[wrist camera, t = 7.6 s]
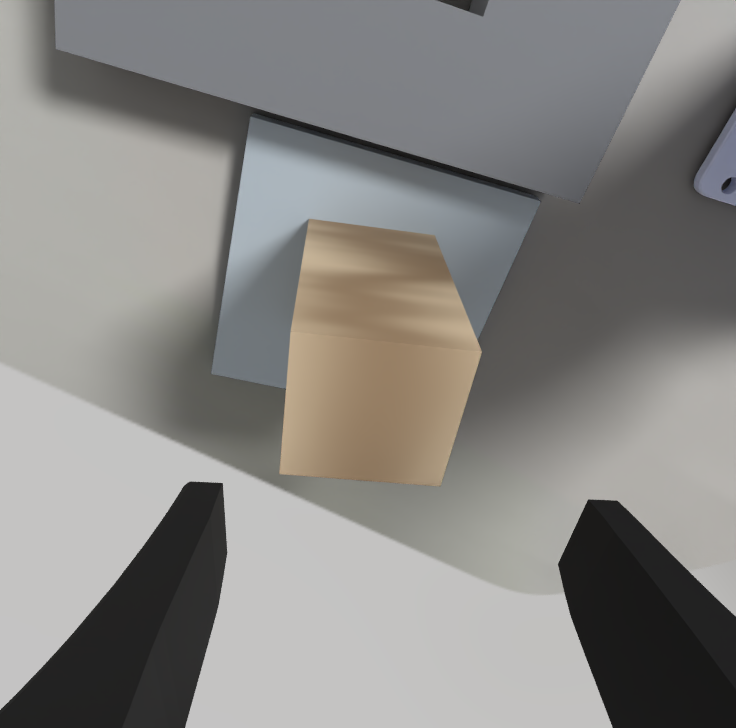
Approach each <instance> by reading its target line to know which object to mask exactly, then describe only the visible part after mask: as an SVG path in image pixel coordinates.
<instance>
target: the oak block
mask: <svg viewBox="0 0 736 728" xmlns="http://www.w3.org/2000/svg"><path fill="white" fill-rule="evenodd" d="M481 353H482V351H481V348H480V346H479V343H478V341H477V338H476V336H475V333H474V331H473V329H472V326H471V324H470V321H469V319H468V316H467V314H466V311H465V309H464V306H463V304H462V301H461V299H460V296H459V294H458V291H457V289H456V286H455V284H454V282H453V279H452V277H451V274H450V272H449V269H448V267H447V264H446V262H445V259H444V257H443V254H442V252H441V249H440V247H439V244H438V242H437V239H436V237H435V235H430V234H423V233H415V232H407V231H400V230H392V229H384V228H377V227H369V226H361V225H354V224H346V223H338V222H331V221H323V220H315V219H309V222H308V228H307V234H306V240H305V246H304V252H303V259H302V265H301V271H300V277H299V283H298V289H297V295H296V301H295V308H294V314H293V320H292V326H291V333H290V345H289V358H288V371H287V384H286V396H285V409H284V422H283V434H282V447H281V460H280V472H279V474H286V475H299V476H312V477H325V478H338V479H351V480H364V481H377V482H390V483H402V484H415V485H428V486H441V483H442V480H443V476H444V473H445V470H446V467H447V464H448V460H449V457H450V454H451V451H452V447H453V444H454V441H455V438H456V434H457V431H458V428H459V425H460V421H461V418H462V415H463V412H464V408H465V405H466V402H467V399H468V396H469V392H470V389H471V386H472V383H473V379H474V376H475V373H476V370H477V366H478V363H479V360H480V357H481Z"/></svg>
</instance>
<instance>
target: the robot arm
mask: <svg viewBox="0 0 736 728" xmlns="http://www.w3.org/2000/svg"><path fill="white" fill-rule="evenodd" d="M730 177H731V183H730V185H729V186H728V187H727V188H726V189H724V190H721V187H722V184H723V183H724V182H725V181H726V179H728V178H730ZM694 188H695V190H696V191H697V192H698V193H700V194H702V195H704V196H706V197H709V198H712V199H715V200H718V201H721V202H725V203H728V204H731V205H734V206H736V109H735V110H734V112H733V114H732V115H731V117H730V119H729V120H728V122H727V124H726V125H725V127H724V129H723V130H722V132H721V134H720V135H719V137H718V139H717V141H716V142H715V144H714V146H713V147H712V149H711V151H710V152H709V154H708V156H707V157H706V159H705V161H704V162H703V164H702V166H701V167H700V169H699V171H698V172H697V174H696V177H695V179H694ZM226 557H227V543H226V527H225V512H224V497H223V483H208V482H189V483H187V484H186V485H185V486H184V487H183V488H182V490H181V492H180V493H179V495H178V497H177V498H176V500H175V501H174V503H173V504H172V506H171V507H170V509H169V511H168V512H167V513H166V515H165V517H164V518H163V519H162V521H161V522H160V524H159V525H158V527H157V528H156V529H155V531H154V532H153V534H152V535H151V536H150V538H149V539H148V540H147V542H146V543H145V545H144V546H143V548H142V549H141V550H140V551H139V553H138V554H137V555H136V557H135V558H134V559H133V560H132V562H131V563H130V564H129V566H128V567H127V568H126V570H125V571H124V572H123V574H122V575H121V576H120V578H119V579H118V580H117V581H116V583H115V584H114V585H113V587H112V588H111V589H110V590H109V591H108V592H107V594H106V595H105V596H104V597H103V598H102V600H101V601H100V602H99V603H98V604H97V606H96V607H95V608H94V609H93V610H92V611H91V613H90V614H89V615H88V616H87V617H86V619H85V620H84V621H83V622H82V623H81V625H80V626H79V627H78V628H77V629H76V630H75V632H74V633H73V634H72V635H71V636H70V637H69V639H68V640H67V641H66V642H65V643H64V644H63V645H62V646H61V647H60V649H59V650H58V651H57V652H56V653H55V654H54V655H53V656H52V657H51V658H50V659H49V661H48V662H47V663H46V664H45V665H44V666H43V667H42V668H41V669H40V670H39V671H38V672H37V673H36V675H34V676H33V677H32V678H31V679H30V681H29V682H28V683H27V684H26V685H25V686H24V687H23V688H22V689H21V690H20V691H19V692H18V693H17V694H16V695H15V696H14V697H13V698H12V699H11V700H10V701H9V702H8V703H7V704H6V705H5V706H4V707H3V708H2V709H1V710H0V728H185V725H186V721H187V718H188V714H189V711H190V707H191V704H192V700H193V696H194V693H195V689H196V686H197V682H198V678H199V675H200V671H201V667H202V664H203V660H204V657H205V653H206V649H207V646H208V642H209V638H210V635H211V631H212V627H213V623H214V620H215V616H216V613H217V608H218V605H219V599H220V593H221V587H222V582H223V575H224V569H225V563H226ZM558 566H559V570H560V575H561V579H562V583H563V588H564V592H565V596H566V600H567V603H568V607H569V611H570V615H571V618H572V620H573V623H574V626H575V629H576V632H577V634H578V637H579V640H580V642H581V645H582V648H583V650H584V653H585V656H586V658H587V661H588V664H589V666H590V669H591V672H592V674H593V677H594V679H595V682H596V685H597V687H598V690H599V692H600V695H601V698H602V700H603V703H604V706H605V708H606V711H607V713H608V716H609V719H610V721H611V724H612V727H613V728H736V617H735V616H734V615H733V614H732V613H731V612H730V611H729V610H728V609H727V608H726V607H725V606H724V605H723V604H722V603H720V602H719V601H718V600H717V599H716V598H715V597H714V596H713V595H712V594H711V593H710V592H709V591H708V590H707V589H706V588H705V587H704V586H703V585H702V584H701V583H700V582H699V581H698V580H697V579H696V578H694V576H693V575H691V573H690V572H689V571H688V570H687V569H686V568H685V567H684V566H683V565H682V564H681V563H680V562H679V561H678V560H677V559H676V558H675V557H674V556H673V555H672V554H671V553H670V552H669V551H668V550H667V549H666V548H665V547H664V546H663V545H662V544H661V543H660V542H659V541H658V540H657V539H656V538H655V537H654V536H653V535H652V534H651V533H650V532H649V531H648V530H647V529H646V528H645V527H644V526H643V525H642V524H641V523H640V522H639V521H638V520H637V519H636V518H635V517H634V516H633V515H632V514H631V513H630V512H629V511H628V510H627V509H626V508H624V507H623V506H622V505H621V504H620V503H619V502H618V501H611V500H588V501H587V503H586V505H585V508H584V510H583V512H582V514H581V516H580V518H579V520H578V523H577V525H576V527H575V529H574V531H573V533H572V535H571V538H570V540H569V542H568V544H567V546H566V548H565V550H564V553H563V555H562V557H561V559H560V561H559V563H558Z"/></svg>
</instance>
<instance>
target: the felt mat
mask: <svg viewBox="0 0 736 728" xmlns="http://www.w3.org/2000/svg"><path fill="white" fill-rule="evenodd" d="M540 202H541V201H540V200H539V199H538V198H537V197H536V196H534V195H531V194H528V193H524V192H521V191H517V190H514V189H511V188H507V187H504V186H500V185H497V184H493V183H490V182H487V181H483V180H480V179H476V178H473V177H470V176H466V175H463V174H459V173H456V172H453V171H449V170H446V169H442V168H439V167H436V166H432V165H429V164H425V163H422V162H419V161H415V160H412V159H408V158H405V157H401V156H398V155H395V154H391V153H388V152H384V151H381V150H378V149H374V148H371V147H367V146H364V145H361V144H357V143H354V142H350V141H347V140H344V139H340V138H337V137H333V136H330V135H326V134H323V133H320V132H316V131H313V130H309V129H306V128H303V127H299V126H296V125H292V124H289V123H286V122H282V121H279V120H275V119H272V118H269V117H265V116H262V115H258V114H255V113H253V114H252V115H251V116H250V122H249V128H248V135H247V141H246V148H245V154H244V161H243V167H242V174H241V180H240V187H239V194H238V200H237V207H236V213H235V220H234V226H233V233H232V239H231V246H230V253H229V259H228V266H227V272H226V279H225V285H224V292H223V298H222V305H221V311H220V318H219V325H218V331H217V338H216V344H215V351H214V357H213V364H212V370H211V374H214V375H219V376H224V377H229V378H234V379H239V380H244V381H249V382H254V383H259V384H264V385H269V386H273V387H278V388H283V389H286V384H287V371H288V358H289V345H290V333H291V326H292V320H293V314H294V308H295V301H296V295H297V289H298V283H299V277H300V271H301V265H302V259H303V252H304V246H305V240H306V234H307V228H308V222H309V219H315V220H323V221H331V222H338V223H346V224H354V225H361V226H369V227H377V228H384V229H392V230H400V231H407V232H415V233H423V234H430V235H435V237H436V239H437V242H438V244H439V247H440V249H441V252H442V254H443V257H444V259H445V262H446V264H447V267H448V269H449V272H450V274H451V277H452V279H453V282H454V284H455V286H456V289H457V291H458V294H459V296H460V299H461V301H462V304H463V306H464V309H465V311H466V314H467V316H468V319H469V321H470V324H471V326H472V329H473V331H474V333H475V336H476V338H477V340H478V338H479V336H480V334H481V332H482V329H483V327H484V325H485V323H486V321H487V318H488V316H489V314H490V312H491V310H492V308H493V305H494V303H495V301H496V299H497V297H498V294H499V292H500V290H501V288H502V286H503V283H504V281H505V279H506V277H507V275H508V273H509V270H510V268H511V266H512V264H513V262H514V259H515V257H516V255H517V253H518V251H519V248H520V246H521V244H522V242H523V240H524V237H525V235H526V233H527V231H528V229H529V227H530V224H531V222H532V220H533V218H534V216H535V213H536V211H537V209H538V207H539V205H540Z"/></svg>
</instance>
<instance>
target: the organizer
mask: <svg viewBox="0 0 736 728" xmlns="http://www.w3.org/2000/svg"><path fill="white" fill-rule="evenodd" d="M680 1H681V0H472V2H471V5H470V8H469V12H468V11H465V10H463V9H460V8H457V7H454V6H451V5H448V4H446V3H443V2H440V1H437V0H54V3H55V42H56V49H57V50H61V51H64V52H68V53H71V54H74V55H78V56H81V57H85V58H88V59H91V60H95V61H98V62H102V63H105V64H108V65H112V66H115V67H118V68H122V69H125V70H129V71H132V72H135V73H139V74H142V75H146V76H149V77H152V78H156V79H159V80H162V81H166V82H169V83H173V84H176V85H179V86H183V87H186V88H190V89H193V90H196V91H200V92H203V93H206V94H210V95H213V96H217V97H220V98H223V99H227V100H230V101H234V102H237V103H240V104H244V105H247V106H251V107H254V108H257V109H261V110H264V111H267V112H271V113H274V114H278V115H281V116H284V117H288V118H291V119H295V120H298V121H301V122H305V123H308V124H311V125H315V126H318V127H322V128H325V129H328V130H332V131H335V132H339V133H342V134H345V135H349V136H352V137H355V138H359V139H362V140H366V141H369V142H372V143H376V144H379V145H383V146H386V147H389V148H393V149H396V150H400V151H403V152H406V153H410V154H413V155H416V156H420V157H423V158H427V159H430V160H433V161H437V162H440V163H444V164H447V165H450V166H454V167H457V168H460V169H464V170H467V171H471V172H474V173H477V174H481V175H484V176H488V177H491V178H494V179H498V180H501V181H505V182H508V183H511V184H515V185H518V186H521V187H525V188H528V189H532V190H535V191H538V192H542V193H545V194H549V195H552V196H555V197H559V198H562V199H565V200H569V201H572V202H576V203H579V204H580V202H581V200H582V198H583V196H584V194H585V192H586V190H587V188H588V186H589V184H590V182H591V180H592V178H593V176H594V174H595V172H596V170H597V168H598V166H599V164H600V162H601V160H602V158H603V156H604V154H605V152H606V150H607V148H608V146H609V144H610V142H611V140H612V138H613V136H614V134H615V132H616V130H617V128H618V126H619V123H620V121H621V119H622V117H623V115H624V113H625V111H626V109H627V107H628V105H629V103H630V101H631V99H632V97H633V95H634V93H635V91H636V89H637V87H638V85H639V83H640V81H641V79H642V77H643V75H644V73H645V71H646V69H647V67H648V65H649V63H650V61H651V59H652V57H653V55H654V53H655V51H656V49H657V47H658V45H659V43H660V41H661V39H662V37H663V35H664V33H665V31H666V29H667V27H668V25H669V23H670V21H671V19H672V17H673V15H674V13H675V11H676V9H677V7H678V5H679V3H680Z"/></svg>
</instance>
